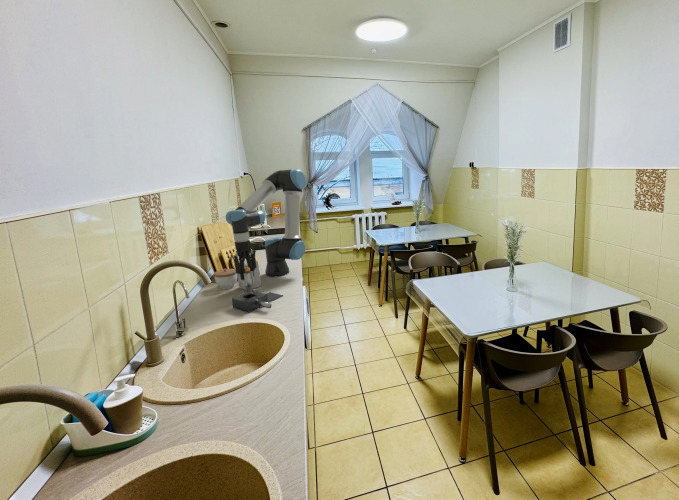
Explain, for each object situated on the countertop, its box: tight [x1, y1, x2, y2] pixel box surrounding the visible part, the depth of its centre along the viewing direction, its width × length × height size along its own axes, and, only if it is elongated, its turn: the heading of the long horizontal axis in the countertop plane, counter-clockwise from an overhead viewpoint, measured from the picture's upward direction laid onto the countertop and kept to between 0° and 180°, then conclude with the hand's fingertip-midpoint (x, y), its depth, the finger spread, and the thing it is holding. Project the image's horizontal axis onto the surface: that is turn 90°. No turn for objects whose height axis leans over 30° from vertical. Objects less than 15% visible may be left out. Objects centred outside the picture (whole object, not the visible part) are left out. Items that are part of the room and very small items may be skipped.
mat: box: [266, 291, 284, 303], centre depth 168 cm, size 10×10×1 cm
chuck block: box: [231, 290, 272, 313], centre depth 155 cm, size 12×20×5 cm, turn 53°
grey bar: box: [244, 267, 254, 293], centre depth 169 cm, size 4×4×14 cm
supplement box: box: [237, 259, 262, 291], centre depth 184 cm, size 9×9×15 cm
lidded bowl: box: [213, 267, 238, 290], centre depth 187 cm, size 13×13×11 cm
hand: (248, 283), depth 170 cm, fingers closed on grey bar, 4 cm apart
